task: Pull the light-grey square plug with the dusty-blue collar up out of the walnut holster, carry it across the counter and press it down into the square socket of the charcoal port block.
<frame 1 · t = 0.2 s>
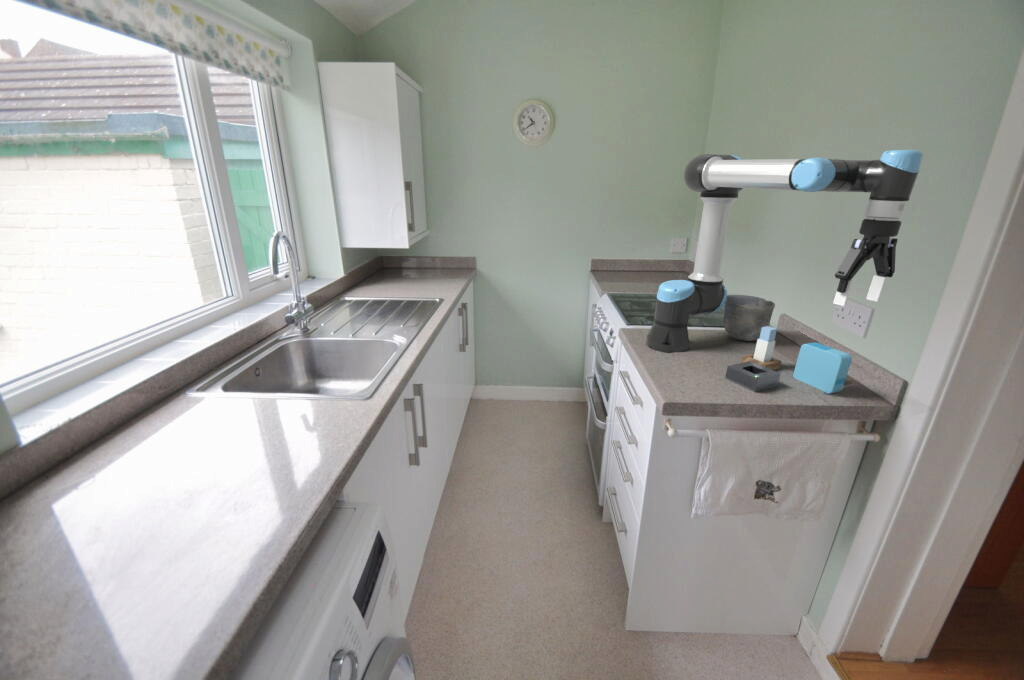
hand: (856, 302, 113), 27 cm above the table, fingers open, 13 cm apart
data package: (815, 386, 129), on the table
holster: (760, 367, 141), on the table
grey metal pot: (740, 338, 167), on the table
port: (750, 383, 129), on the table
plug: (760, 365, 141), resting on holster
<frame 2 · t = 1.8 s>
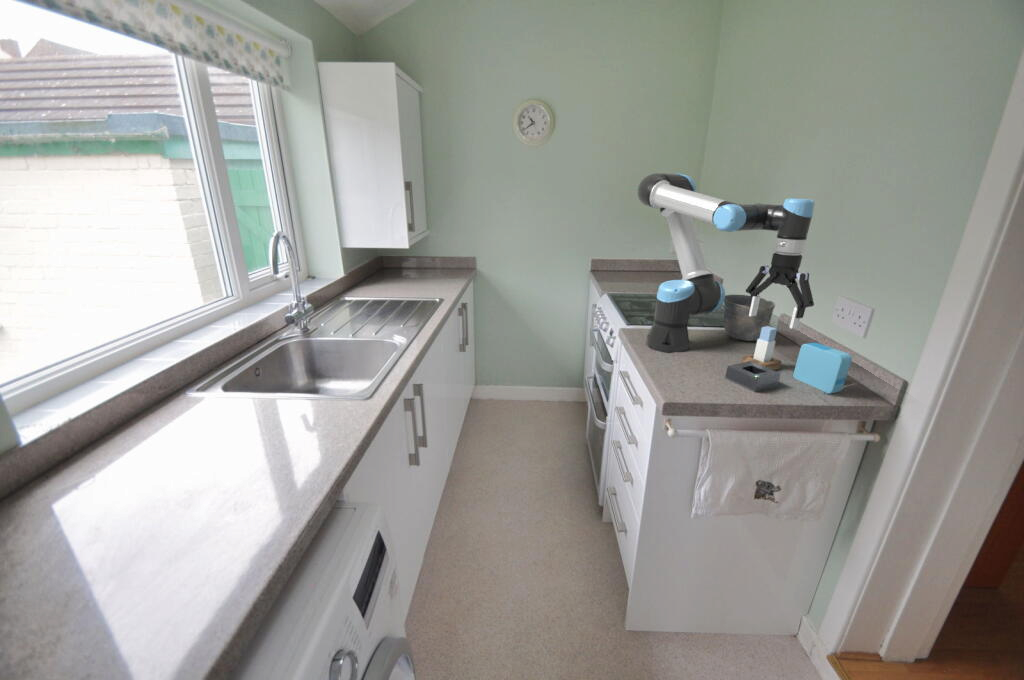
hand: (772, 321, 135), 16 cm above the table, fingers open, 13 cm apart
nothing on the table moved.
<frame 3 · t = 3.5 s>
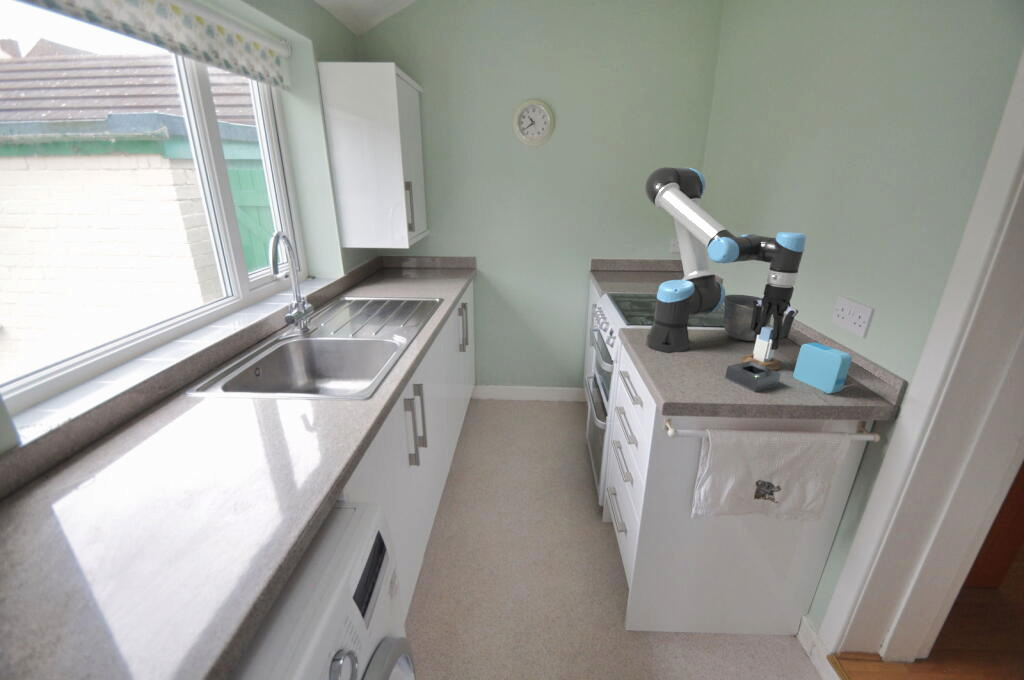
hand: (762, 355, 140), 4 cm above the table, fingers closed on plug, 4 cm apart
plug: (760, 365, 141), resting on holster, touching gripper
everything else where it was.
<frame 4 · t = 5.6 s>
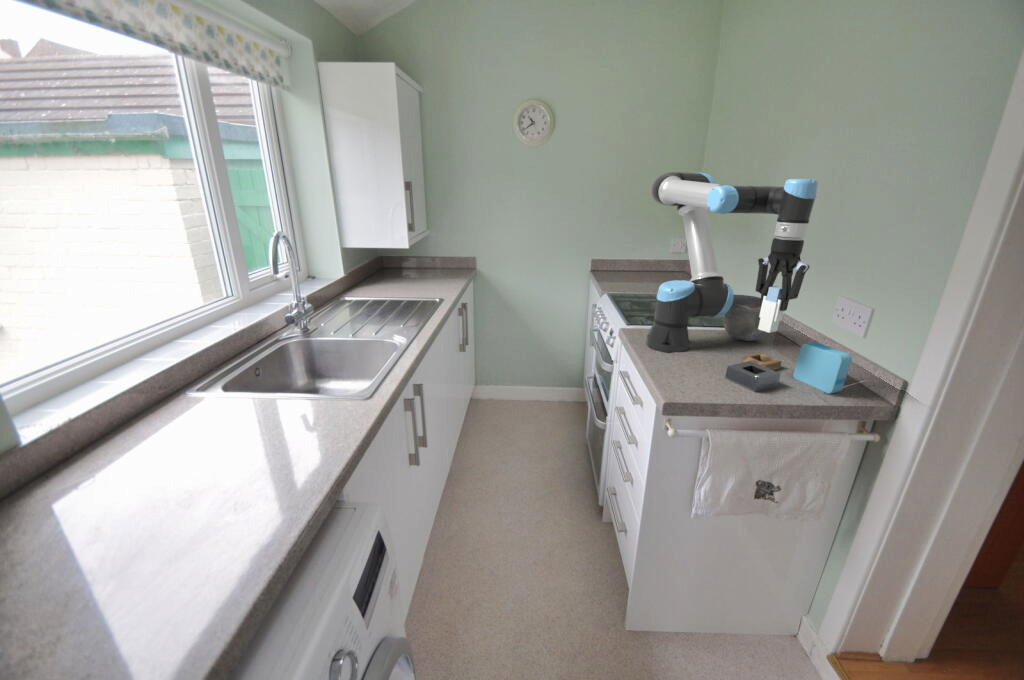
hand: (769, 318, 128), 19 cm above the table, fingers closed on plug, 4 cm apart
plug: (767, 330, 129), point 15 cm above the table, touching gripper
everything else where it was.
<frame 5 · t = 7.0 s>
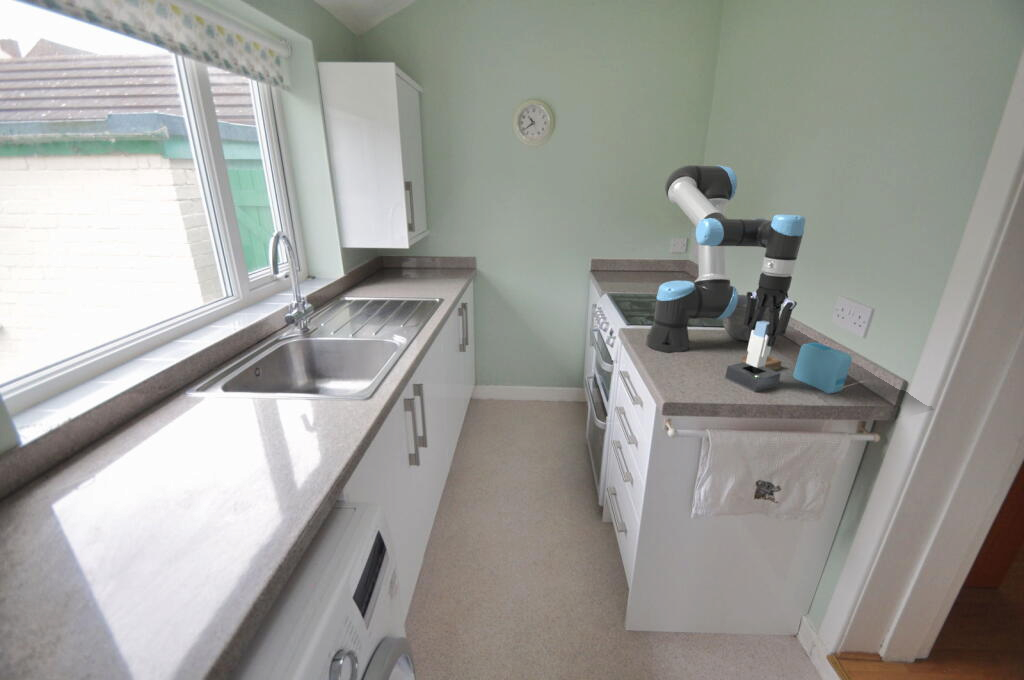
hand: (757, 353, 126), 10 cm above the table, fingers closed on plug, 4 cm apart
plug: (755, 364, 127), point 6 cm above the table, touching gripper
everything else where it was.
when the fingers open (6 cm above the table, at t = 8.0 s): plug drops 1 cm, resting on port.
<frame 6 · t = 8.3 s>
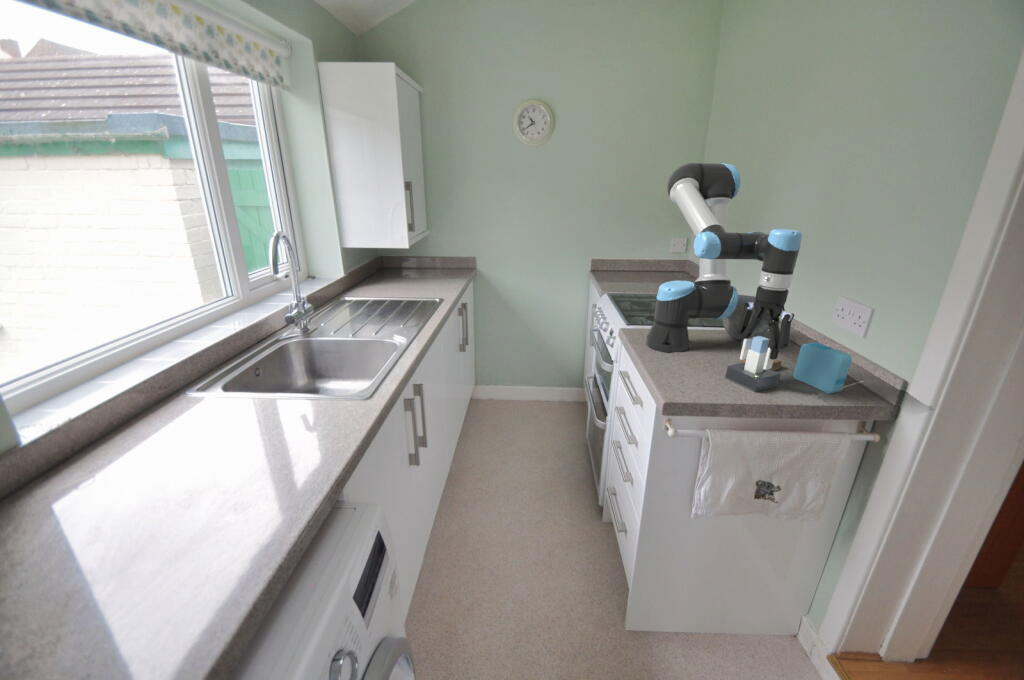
hand: (755, 363, 127), 7 cm above the table, fingers open, 7 cm apart
plug: (751, 378, 129), point 1 cm above the table, touching port
everything else where it was.
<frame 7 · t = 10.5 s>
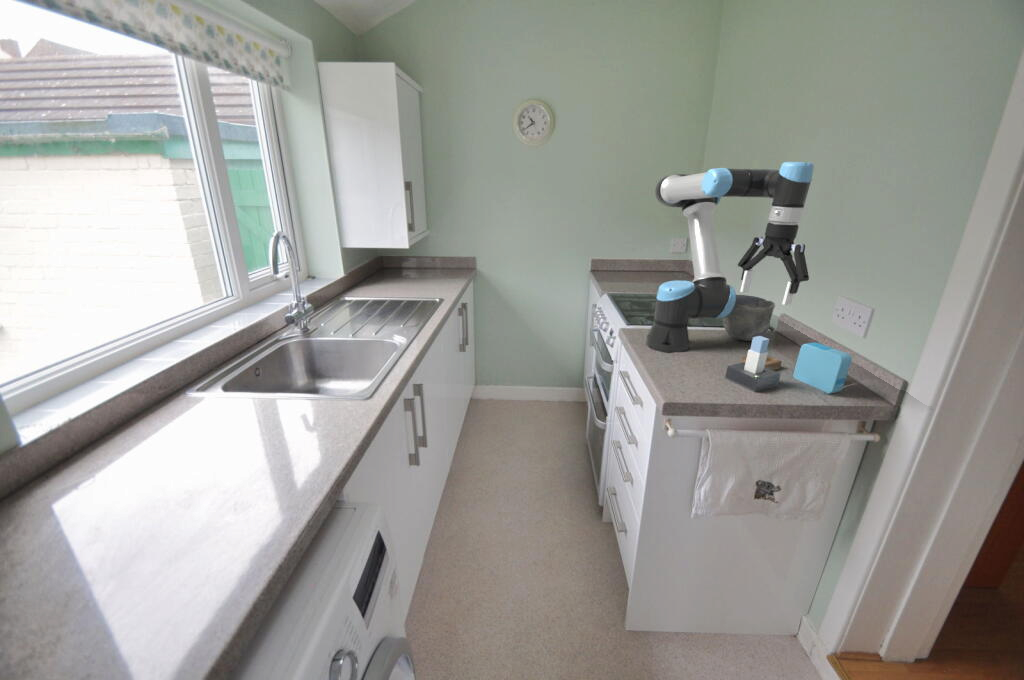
hand: (764, 297, 126), 25 cm above the table, fingers open, 13 cm apart
nothing on the table moved.
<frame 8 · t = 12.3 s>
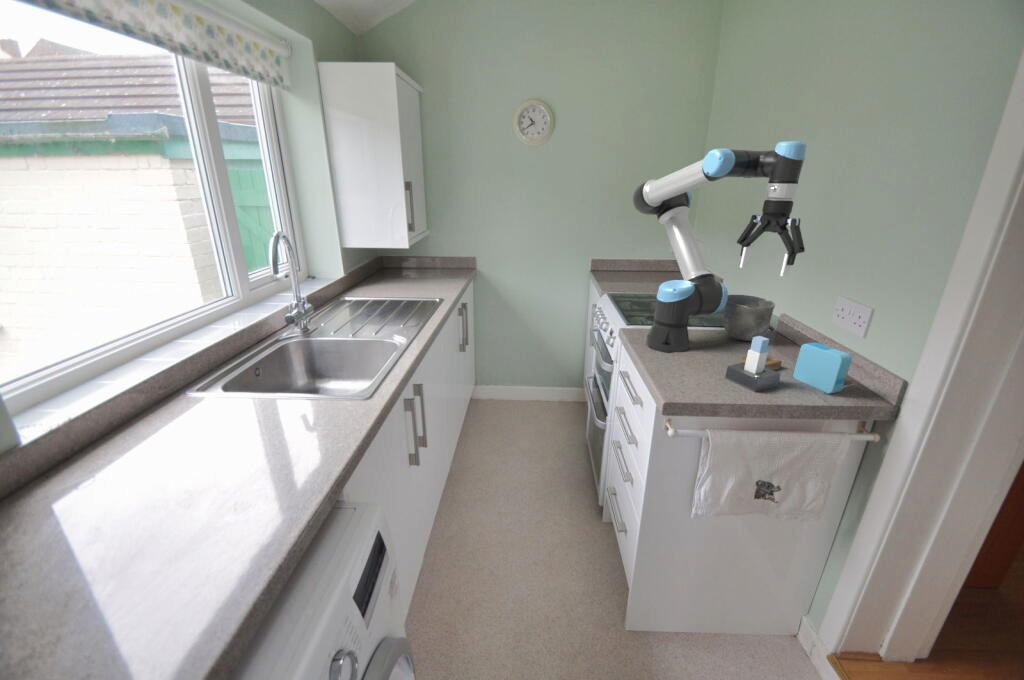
hand: (762, 271, 134), 31 cm above the table, fingers open, 13 cm apart
nothing on the table moved.
at the end: plug 0.0 cm off-centre on the port, point 1.5 cm above the port's base; plug tilted 0°; the gripper is holding nothing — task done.
